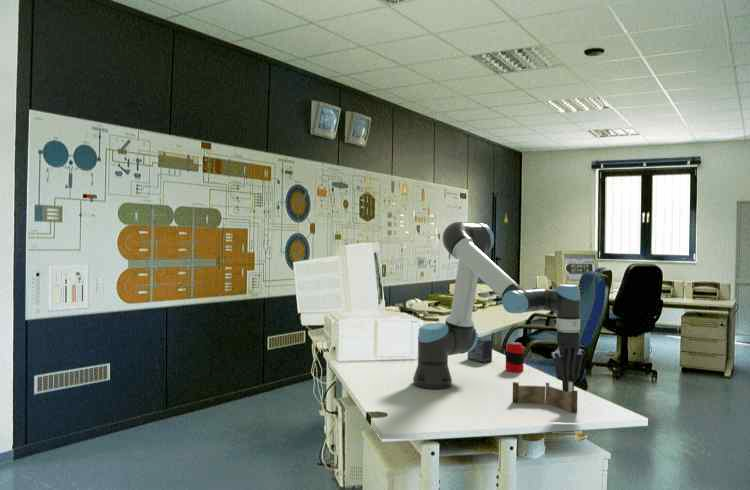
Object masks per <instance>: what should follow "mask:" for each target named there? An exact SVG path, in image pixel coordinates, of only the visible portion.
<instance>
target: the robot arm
mask: <svg viewBox="0 0 750 490" xmlns="http://www.w3.org/2000/svg"><path fill="white" fill-rule="evenodd" d="M494 243H495V236H494V233H493V231H492V229H491V227H490V226H488V225H487V224H485V223H481V222H475V221H474V222H473V221H472V222H470V221H469V222H468V221H465V222H464V221H456V222H453V223H450V224H448V225H447V226H446V227H445V229H444V231H443V233H442V245H443V247H444V248H445V250H446V251H447V252H448V253H449V254H450V255H451V257H452V258H454V259H456V260H458V264H457V269H456V276H455V283H454V290H453V296H452V302H451V307H450V315H449V316H447V317H446V318H445V323H443V322H435V323H427V324H423V325H422V326H420V327H419V329H418V334H417V335H418V336H417V340H418V341H417V356H418V357H417V367H416V369H415V372H414V375H413V377H412V382H413V385H414V386H416V387H418V388H421V389H427V390H443V389H448V388H450V387H452V385H453V379H452V376H451V373H450V372H451V371H450V368H449V365H448V361H449V360H448V359H449V356H453V355H458V354H459V355H461V354H462V355H464V354H467V353H468V352H469V351H471V350H472V349H473V348H474V347H475V346H476V344H477V340H478V337H479V334H478V332H477V328H476V327H475V322H474V321H473V320H472V318H473V311H474V305H475V299H476V292H477V285H478V280H479V279H480V280H481V281H483V283H485V285H486V286H487V287H489V288H490V289H491V291H493V293H494V294H495V295H496V296H498V297H500V299H501V304H502V306H503V309H504V310H505V311H506V312H507V313H509V314H523V313H529V312H539V311H546V312H547V311H548V312H556V328H555V329H556V342H557V346H556V349H555V350H554V352H553V351H551V353H550V356H551V358H552V359H553V364H554V368H555V375H556V378H557V380H559V381H561V382H562V386H561V388H562V389H561V390H563V391H568V392H571V393H572V390H575V383H576V382H577V381H578V380H580V379H579V378H580V375H581V370H582V366H583V361H584V356H585V355H586V350H584V349H582V348H581V346H580V342H581V332H580V330H581V300H582V298H581V289H580V287H579V285H577V284H563V283H562V284H558V285H557V286H556V289H550V288H540V287H530V288H528V289H524V288H523V287H521V286H520V285H519V284H518V283H517V282H516V281H515V280H514V279H512V277H510V275H508V274H507V273H506V272H505V271H504V270H503V269H501V267H499V266H498V265H497V264H496V263H495V262H494V261H493V260H491V258H489V256H487V255H486V254H487V253H488V252H489V251H490V250H491V249H492V248H493V246H494Z"/></svg>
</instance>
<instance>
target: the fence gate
mask: <svg viewBox="0 0 750 490" xmlns="http://www.w3.org/2000/svg"><path fill="white" fill-rule="evenodd" d="M578 393H579V392H578V390H575V389H574V390H572V393H571V392H568V391H563V389H561V388H558V387H554V386H551V385H550V382H545V403H544V404H547V405H551V406H554V407H557V408H560V409H562V410H566V411H568V412H570V413H573V414H577V413H578Z"/></svg>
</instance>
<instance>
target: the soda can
mask: <svg viewBox="0 0 750 490" xmlns="http://www.w3.org/2000/svg"><path fill="white" fill-rule="evenodd" d="M524 349H525V346H524V345H523V344H522V343H521V342H518V341H517V342H516V341H509V342H508V343H507V344H506V345H505V370H506V372H510V373H522V372H523V371H524V353H525V352H524Z"/></svg>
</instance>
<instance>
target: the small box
mask: <svg viewBox="0 0 750 490" xmlns="http://www.w3.org/2000/svg"><path fill="white" fill-rule="evenodd" d="M467 360H469V361H473V362H477V363H481V364H487V363H492V362H493V340H492V339H488V338H485V337H479V336H478V340H477V344H476V346H475V347H474V348H473V349H472V350H471V351H469V352H467Z"/></svg>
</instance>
